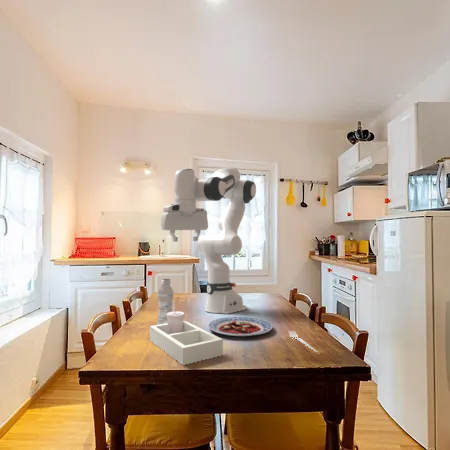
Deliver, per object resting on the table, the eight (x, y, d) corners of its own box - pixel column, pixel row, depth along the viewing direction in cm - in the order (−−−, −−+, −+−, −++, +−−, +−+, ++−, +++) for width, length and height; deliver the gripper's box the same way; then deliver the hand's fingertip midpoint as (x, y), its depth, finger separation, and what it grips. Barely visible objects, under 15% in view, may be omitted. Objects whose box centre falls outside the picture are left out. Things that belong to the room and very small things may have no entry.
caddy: (149, 340, 112) (149, 326, 112) (184, 333, 120) (184, 320, 120) (182, 365, 90) (182, 348, 90) (222, 355, 98) (222, 339, 98)
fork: (314, 356, 100) (314, 350, 100) (287, 335, 119) (287, 330, 119) (323, 355, 101) (323, 349, 101) (295, 335, 120) (295, 330, 120)
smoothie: (166, 338, 114) (167, 299, 114) (184, 337, 114) (184, 299, 115) (165, 344, 107) (165, 303, 108) (183, 343, 108) (184, 302, 108)
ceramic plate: (254, 345, 108) (254, 337, 108) (195, 333, 121) (195, 325, 121) (282, 327, 130) (282, 320, 130) (229, 318, 143) (229, 312, 143)
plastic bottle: (176, 327, 128) (176, 278, 128) (168, 332, 121) (168, 280, 122) (162, 326, 130) (163, 278, 130) (153, 330, 123) (154, 280, 124)
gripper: (203, 208, 137) (203, 240, 137) (159, 207, 126) (159, 241, 125) (210, 208, 132) (211, 240, 132) (165, 206, 120) (165, 242, 120)
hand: (185, 241), depth 128 cm, fingers open, 8 cm apart
